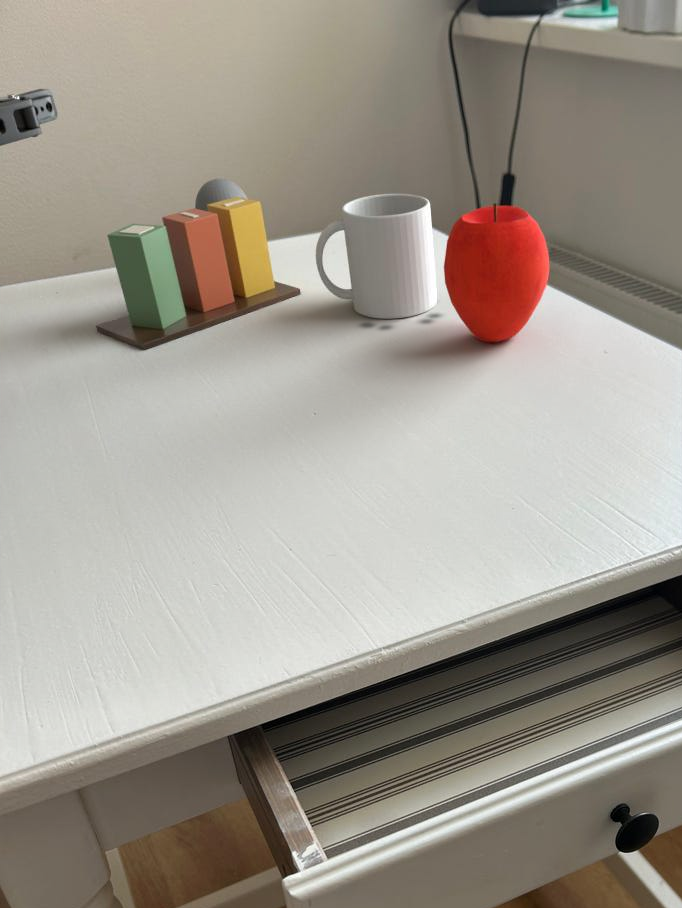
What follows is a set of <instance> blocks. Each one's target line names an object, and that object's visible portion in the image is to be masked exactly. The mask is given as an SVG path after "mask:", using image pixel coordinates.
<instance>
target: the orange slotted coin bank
mask: <svg viewBox="0 0 682 908" xmlns="http://www.w3.org/2000/svg"><path fill="white" fill-rule="evenodd" d="M161 218H162V219H161V220H162V223H163V226H166V230H167V235H168V239H169V243H170V247H171V252H172V256H173V260H174V265H175V269H176V273H177V278H178V282H179V286H180V291H181V295H182V299H183V303H184V306H186V307H189V308H192V309H195V310H198V311H201V312H207V311H210V310H213V309H216V308H218V307H221V306H224V305H227V304H230V303H233V302H234V297H233V292H232V287H231V282H230V277H229V272H228V267H227V262H226V257H225V252H224V247H223V242H222V237H221V232H220V227H219V222H218V216H217V214H215V213H211V212H207V211H203V210H199V209H196V208H195V207H194V208H191V209H187V210H182V211H179V212H175V213H171V214H168V215H165V216H162V217H161Z"/></svg>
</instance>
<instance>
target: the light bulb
mask: <svg viewBox="0 0 682 908" xmlns="http://www.w3.org/2000/svg"><path fill="white" fill-rule="evenodd" d="M234 197H241V198H246V199H248V197H247V195H246V193H245V192H244V191H243V190H242V189H241V187H240V186H239V185H238V184H236V183H235V182H233V181H232V180H229V179H226V178H214V179H210V180H209V181H206V182H204V183H203V185H202V186H201V187H200V188H199V190H198V193H197V194H196V197H195V204H194V205H195V207H194V208H195V209H199V210H203V211H207V212H208V209H207V205H208V204H212V203H216V202H219V201H223V200H227V199H230V198H234Z"/></svg>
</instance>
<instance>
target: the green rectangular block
mask: <svg viewBox="0 0 682 908" xmlns="http://www.w3.org/2000/svg"><path fill="white" fill-rule="evenodd" d="M107 238H108V242H109V246H110V250H111V254H112V258H113V261H114V265H115V269H116V273H117V276H118V280H119V283H120V287H121V290H122V295H123V299H124V302H125V306H126V310H127V313H128V314H127V315H129V318H130V321H131V325H132V326H138V327H147V328H155V329H165V328H167V327H168V326H170V325H172V324H173V323H175V322H177V321H179V320H180V319H182V318H184V317H186V312H185V308H184V303H183V299H182V295H181V291H180V286H179V282H178V278H177V273H176V269H175V265H174V260H173V256H172V252H171V247H170V243H169V239H168V235H167V230H166V226H164V225H157V224H155V225H153V224H142V223H131V224H129V225H127V226H125V227H122V228H120V229H117V230H115V231H114V232H110V233H109V234H107Z"/></svg>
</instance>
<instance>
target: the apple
mask: <svg viewBox="0 0 682 908" xmlns="http://www.w3.org/2000/svg"><path fill="white" fill-rule="evenodd" d="M547 246H548V245H547V242H546V239H545V235H544V233H543V231H542V230H541V228H540V225H539V224H538V222H537V221H536V220H535V219H534V218H533V217H532V216H531V215H530V214H529V213H528V212H527V211H526V210H524V209H523V208H521V207H518V206H512V205H497V203H496V202H495V203H493V205H491V206H484V207H479V208H476V209H474V210H472V211H469V212H467V213H464V214H463V215H462V216H460V217H459V218H458V219H457V220H456V221H455V222H454V224H453V226H452V228H451V230H450V232H449V235H448V238H447V240H446V248H445V255H444V262H443V274H444V284H445V286H446V290H447V293H448V296H449V300H450V303H451V304H452V306H453V308H454V311H456V313H457V316H458V317H459V319H460V320H461V321H462V322H463V324H464V325H465V327H466V328H467V329H468V330H469V331H470V333H471V334H472V336H474V337H475V338H476V339H478V340H480V341H482V342H484V343H498V342H502V341H506V340H509V339H511V338H513V337H515V336H516V335H517V334H519V332H520V331H521V330H523V328H524V327H525V326H526V325H527V323H528V322H529V321H530V319H531V318H532V316H533V313H534V312H535V310H536V308H537V307H538V305H539V304H540V302H541V300H542V297H543V294H544V292H545V290H546V287H547V285H548V281H549V274H550V273H549V272H550V256H549V251H548V247H547Z"/></svg>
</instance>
